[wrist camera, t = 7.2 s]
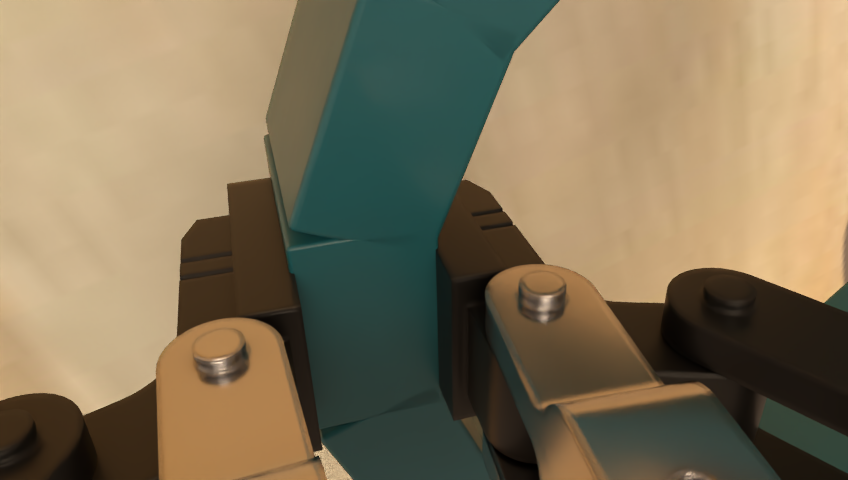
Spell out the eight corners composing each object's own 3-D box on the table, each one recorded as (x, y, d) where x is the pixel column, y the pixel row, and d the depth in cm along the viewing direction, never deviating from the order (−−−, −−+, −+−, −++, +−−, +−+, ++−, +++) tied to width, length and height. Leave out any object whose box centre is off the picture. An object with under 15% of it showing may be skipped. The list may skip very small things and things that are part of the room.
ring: (174, -419, 8) (158, -563, 5) (1236, -388, 11) (1615, -463, 8) (325, 522, 16) (354, 683, 13) (906, 380, 19) (1035, 482, 16)
